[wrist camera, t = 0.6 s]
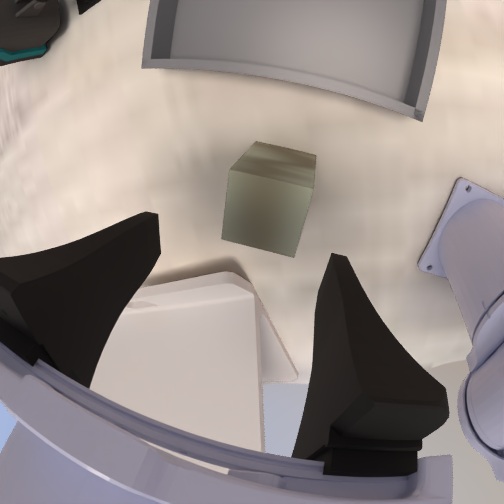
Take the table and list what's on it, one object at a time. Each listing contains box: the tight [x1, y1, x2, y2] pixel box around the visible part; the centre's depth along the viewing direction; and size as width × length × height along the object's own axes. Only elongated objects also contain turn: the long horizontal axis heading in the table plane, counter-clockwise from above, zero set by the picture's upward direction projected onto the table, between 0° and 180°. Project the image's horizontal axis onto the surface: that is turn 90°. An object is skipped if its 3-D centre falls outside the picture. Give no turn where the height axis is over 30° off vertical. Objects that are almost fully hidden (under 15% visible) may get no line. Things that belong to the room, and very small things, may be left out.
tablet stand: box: [90, 272, 298, 475], centre depth 26 cm, size 18×25×17 cm
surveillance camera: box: [0, 0, 101, 66], centre depth 8 cm, size 6×12×10 cm
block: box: [221, 141, 316, 258], centre depth 17 cm, size 4×4×6 cm
